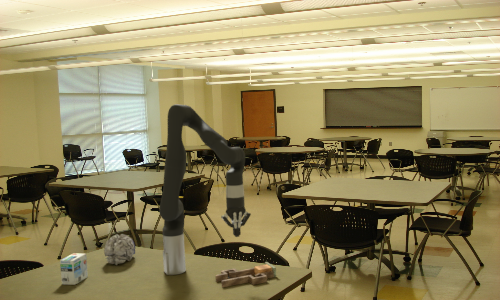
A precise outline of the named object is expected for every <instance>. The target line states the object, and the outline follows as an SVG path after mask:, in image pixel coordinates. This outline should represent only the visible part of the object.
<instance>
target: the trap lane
mask: <svg viewBox="0 0 500 300" xmlns="http://www.w3.org/2000/svg"><path fill="white" fill-rule="evenodd" d="M266 264H267V265H269V266H270V267H272V271H268V272H262V273H258V274H256V275H255V272H254V267H251V268H246V269H241V270H238V269H237V268H231V269H230V268H229V269H224V270H220V273H218V274H215V276H214V277H215V282H216V283H217V282H221V287H222V288H227V287H231V286H232V287H233V286H236V285H237V286H238V285H242V284H246V283H250V284H251V285H252V286H254V285H259V284H263V283H268V279H271V278H277V267H276V266H274V265H273V264H272V263H269V262H268V261H265V262H264V265H266ZM253 275H254V276H253Z"/></svg>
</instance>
